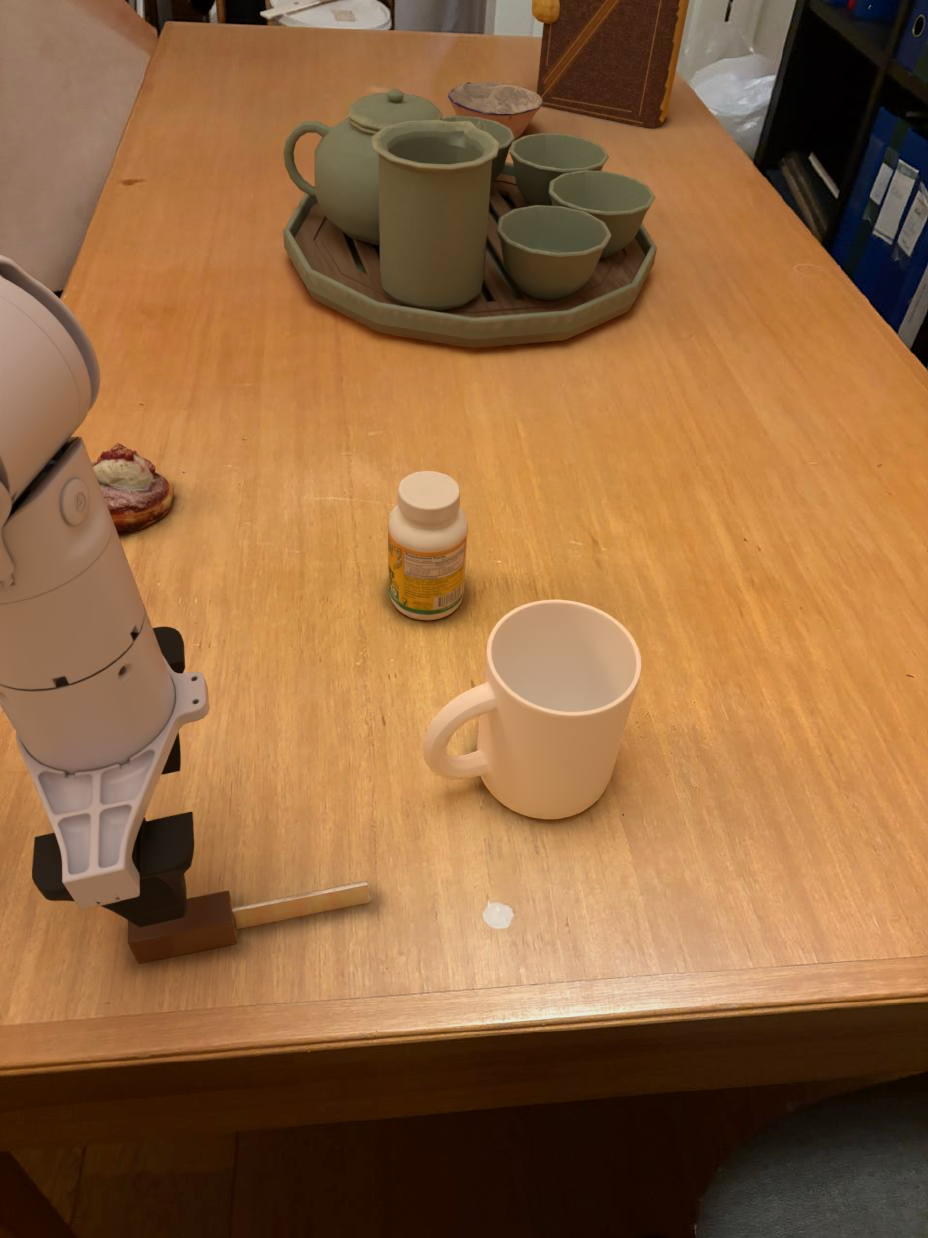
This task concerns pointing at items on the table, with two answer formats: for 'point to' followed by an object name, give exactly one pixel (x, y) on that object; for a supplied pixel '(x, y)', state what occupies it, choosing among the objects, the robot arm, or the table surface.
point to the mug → (544, 709)
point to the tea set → (464, 227)
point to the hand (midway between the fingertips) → (160, 838)
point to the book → (610, 57)
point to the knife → (231, 920)
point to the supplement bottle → (427, 546)
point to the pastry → (132, 488)
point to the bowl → (496, 103)
